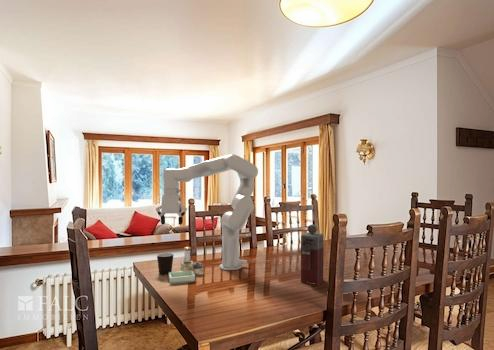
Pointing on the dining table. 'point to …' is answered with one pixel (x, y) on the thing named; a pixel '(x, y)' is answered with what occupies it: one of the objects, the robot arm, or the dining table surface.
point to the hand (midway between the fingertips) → (171, 224)
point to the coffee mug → (165, 263)
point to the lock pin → (187, 255)
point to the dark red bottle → (312, 256)
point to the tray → (181, 277)
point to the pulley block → (192, 267)
